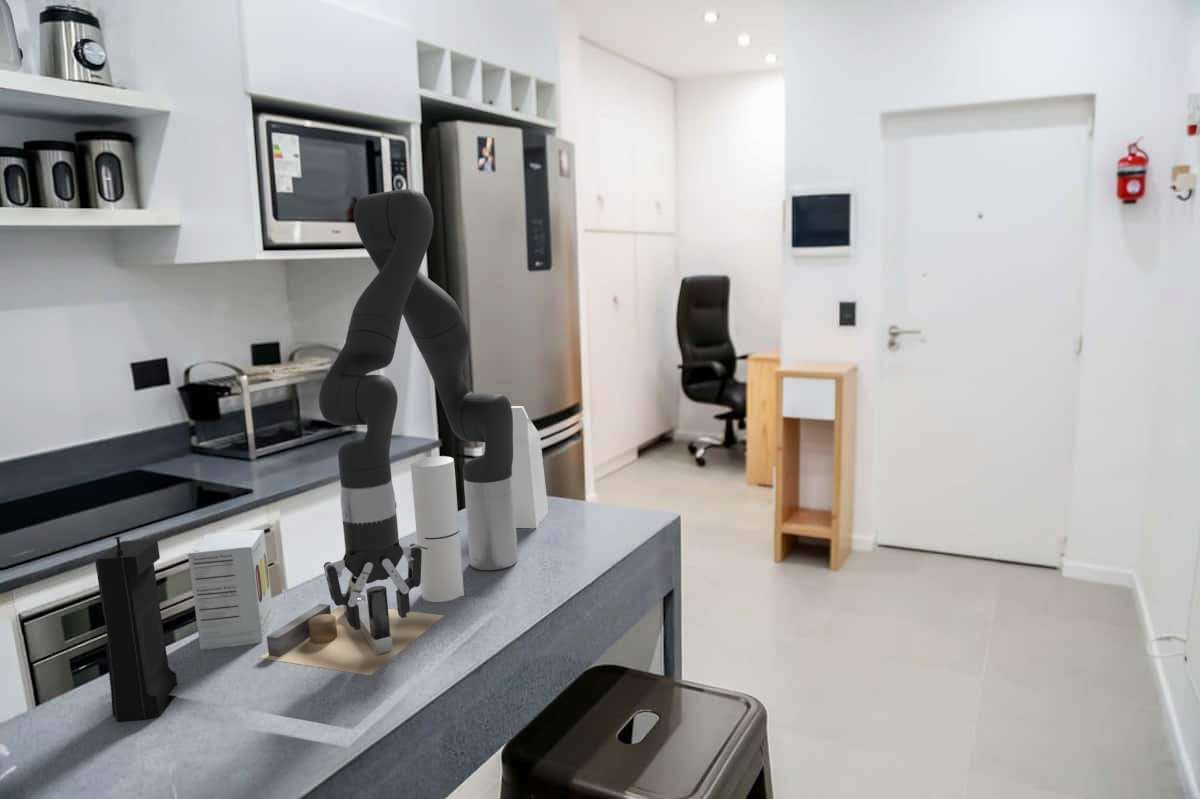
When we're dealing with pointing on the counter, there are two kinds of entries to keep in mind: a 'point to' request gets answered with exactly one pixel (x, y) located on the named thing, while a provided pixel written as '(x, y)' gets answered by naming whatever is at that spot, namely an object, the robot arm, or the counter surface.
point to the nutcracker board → (343, 641)
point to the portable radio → (134, 631)
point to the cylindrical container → (437, 528)
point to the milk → (527, 472)
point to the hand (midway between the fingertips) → (379, 621)
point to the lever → (375, 619)
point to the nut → (322, 629)
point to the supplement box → (231, 589)
